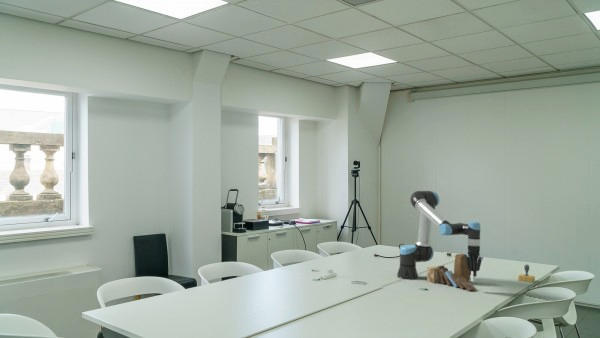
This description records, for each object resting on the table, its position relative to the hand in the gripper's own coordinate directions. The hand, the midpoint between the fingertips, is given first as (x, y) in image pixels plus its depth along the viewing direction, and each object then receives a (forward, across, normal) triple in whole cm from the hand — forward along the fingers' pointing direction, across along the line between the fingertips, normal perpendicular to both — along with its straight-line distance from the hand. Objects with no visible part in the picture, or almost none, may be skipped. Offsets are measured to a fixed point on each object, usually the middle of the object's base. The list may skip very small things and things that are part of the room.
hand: (473, 280), depth 305 cm
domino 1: (+7, -23, 0) cm, 24 cm away
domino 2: (+6, -17, 0) cm, 18 cm away
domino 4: (+6, -6, 0) cm, 9 cm away
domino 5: (+6, 0, 0) cm, 6 cm away
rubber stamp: (+7, -2, +64) cm, 64 cm away
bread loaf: (+7, -20, +15) cm, 26 cm away
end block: (+7, -31, 0) cm, 32 cm away
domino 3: (+6, -12, 0) cm, 13 cm away
